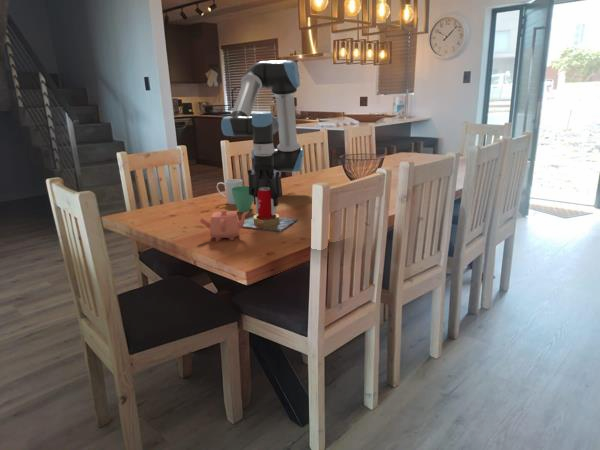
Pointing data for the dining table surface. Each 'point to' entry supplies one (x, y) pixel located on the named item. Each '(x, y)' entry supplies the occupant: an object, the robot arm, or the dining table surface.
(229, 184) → the mug
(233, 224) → the teapot
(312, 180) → the dining table surface
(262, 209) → the beverage can
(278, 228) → the grey can holder
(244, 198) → the mug
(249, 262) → the dining table surface
